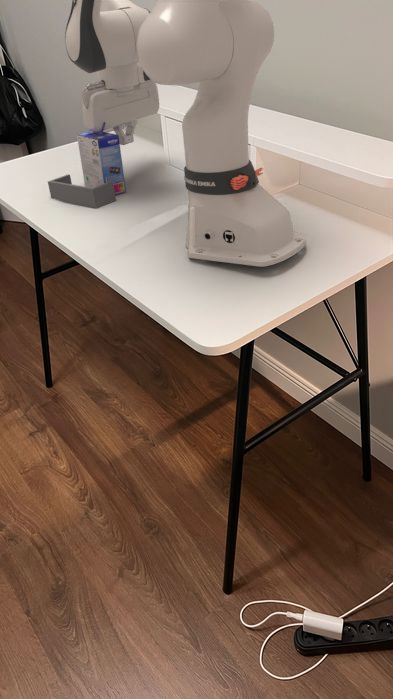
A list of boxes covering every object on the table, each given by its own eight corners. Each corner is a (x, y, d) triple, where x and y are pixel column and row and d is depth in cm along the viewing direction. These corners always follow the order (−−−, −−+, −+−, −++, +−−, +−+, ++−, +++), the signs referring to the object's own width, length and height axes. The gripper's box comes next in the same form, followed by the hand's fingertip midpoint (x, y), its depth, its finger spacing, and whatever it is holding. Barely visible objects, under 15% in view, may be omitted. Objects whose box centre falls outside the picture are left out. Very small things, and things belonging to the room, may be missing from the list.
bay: (115, 200, 131) (112, 181, 129) (95, 208, 127) (92, 189, 125) (71, 192, 140) (67, 174, 137) (51, 199, 136) (47, 181, 134)
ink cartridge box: (128, 191, 136) (118, 122, 128) (106, 198, 133) (94, 128, 126) (106, 184, 143) (95, 118, 135) (85, 190, 140) (72, 123, 133)
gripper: (91, 86, 124) (102, 156, 131) (160, 69, 137) (167, 134, 144) (70, 85, 127) (82, 153, 135) (139, 68, 140) (147, 131, 147)
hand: (126, 143), depth 139 cm, fingers closed
